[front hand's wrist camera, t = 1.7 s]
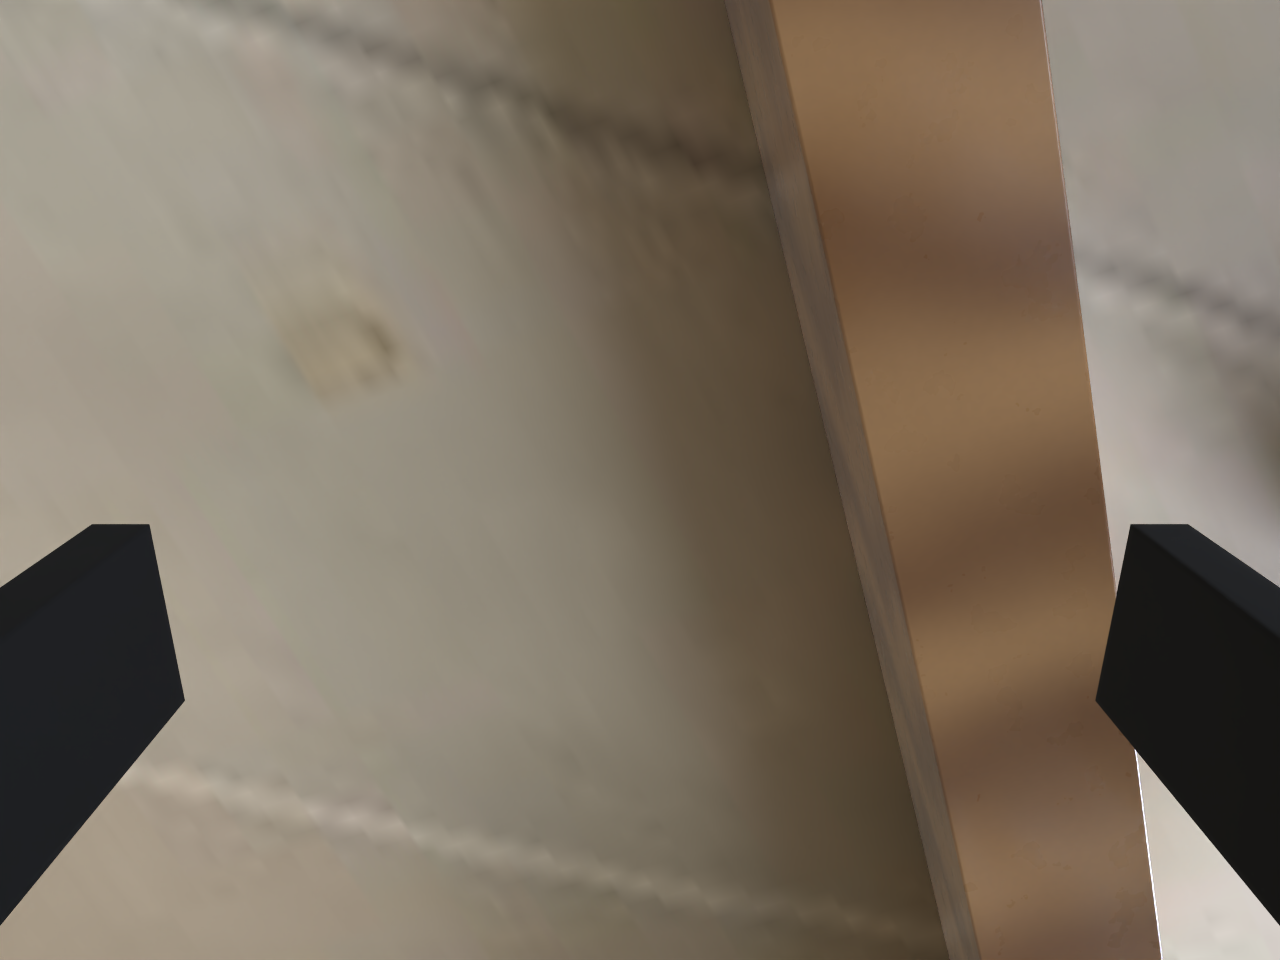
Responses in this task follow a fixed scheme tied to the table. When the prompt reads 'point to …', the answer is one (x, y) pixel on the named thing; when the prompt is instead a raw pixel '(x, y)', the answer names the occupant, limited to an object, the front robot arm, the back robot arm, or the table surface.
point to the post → (962, 445)
